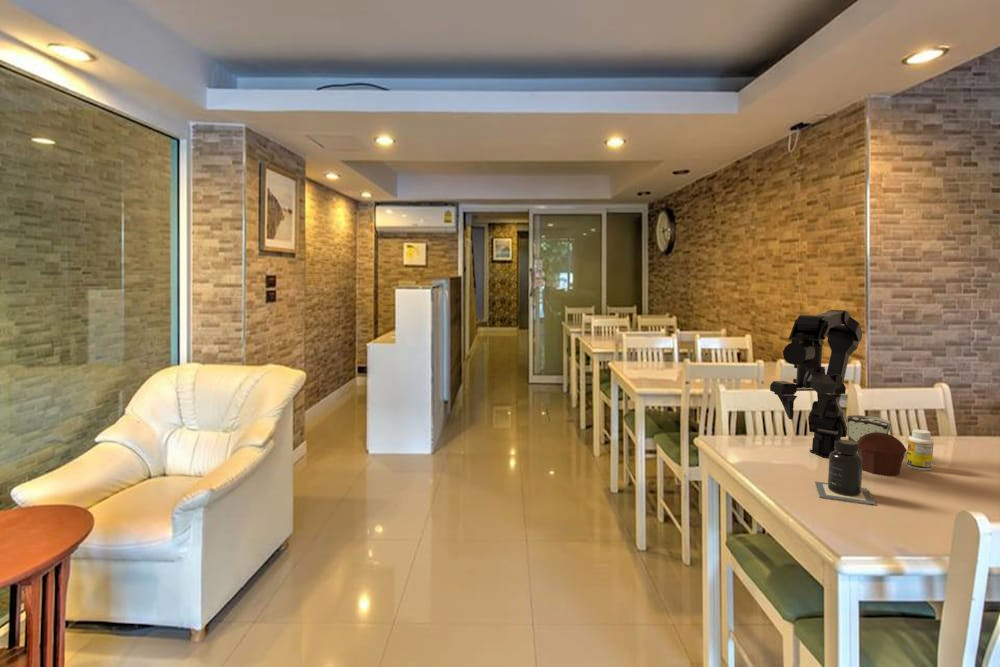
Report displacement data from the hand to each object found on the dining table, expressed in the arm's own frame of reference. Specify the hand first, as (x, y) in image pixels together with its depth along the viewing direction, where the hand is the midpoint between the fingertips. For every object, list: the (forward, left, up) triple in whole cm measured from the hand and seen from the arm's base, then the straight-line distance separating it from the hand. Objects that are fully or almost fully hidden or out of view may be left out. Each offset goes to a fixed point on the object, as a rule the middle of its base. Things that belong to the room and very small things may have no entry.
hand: (805, 418), depth 157 cm
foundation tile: (+4, +21, -13) cm, 25 cm away
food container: (-30, -11, -13) cm, 35 cm away
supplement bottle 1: (+4, +20, -13) cm, 24 cm away
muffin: (-18, +6, -13) cm, 23 cm away
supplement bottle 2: (-31, +5, -13) cm, 34 cm away
